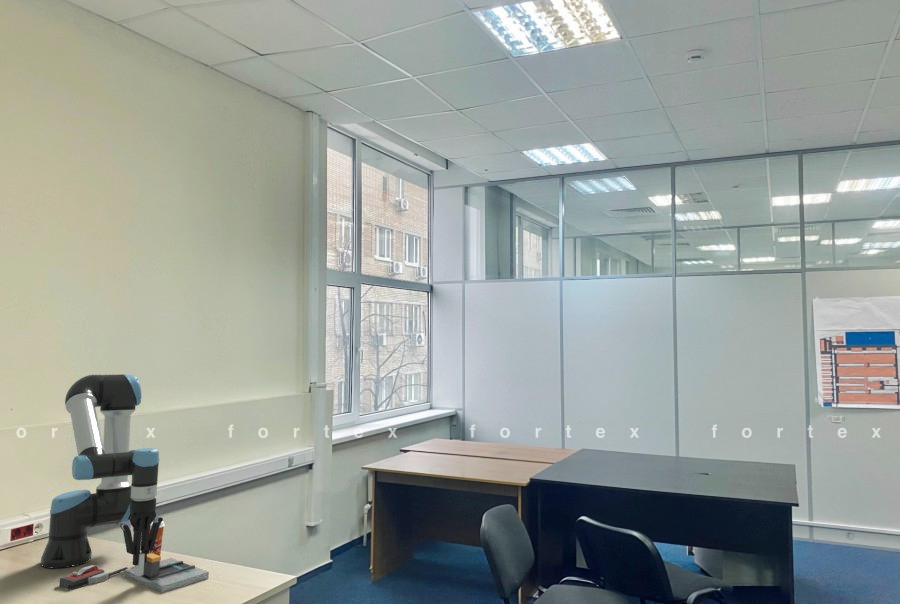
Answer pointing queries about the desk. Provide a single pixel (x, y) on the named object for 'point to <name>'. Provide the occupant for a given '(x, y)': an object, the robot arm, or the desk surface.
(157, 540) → the paper cup
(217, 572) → the desk surface
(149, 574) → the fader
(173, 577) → the console board
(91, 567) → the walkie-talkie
